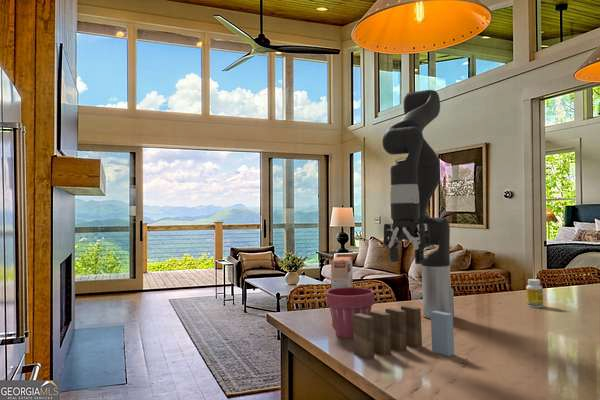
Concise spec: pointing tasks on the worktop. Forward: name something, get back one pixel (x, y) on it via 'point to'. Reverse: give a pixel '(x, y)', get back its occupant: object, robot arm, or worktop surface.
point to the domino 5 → (442, 333)
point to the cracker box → (341, 273)
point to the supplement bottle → (534, 293)
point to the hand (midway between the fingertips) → (406, 262)
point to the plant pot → (348, 307)
